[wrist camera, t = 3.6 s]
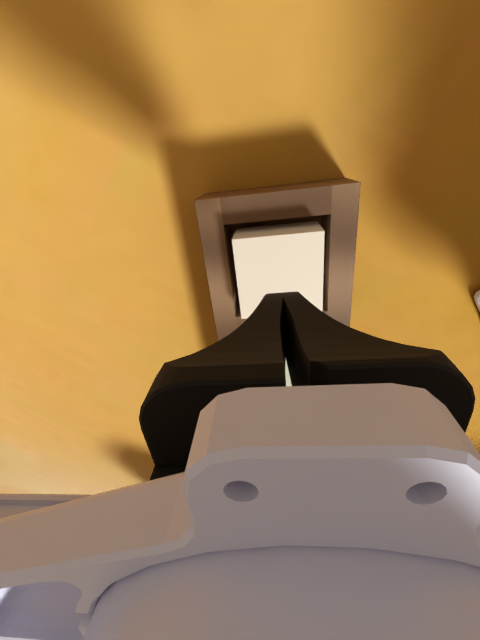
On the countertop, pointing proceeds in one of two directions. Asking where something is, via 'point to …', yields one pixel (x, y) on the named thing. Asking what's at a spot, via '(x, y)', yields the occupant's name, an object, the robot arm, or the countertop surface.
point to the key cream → (279, 262)
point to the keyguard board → (275, 209)
